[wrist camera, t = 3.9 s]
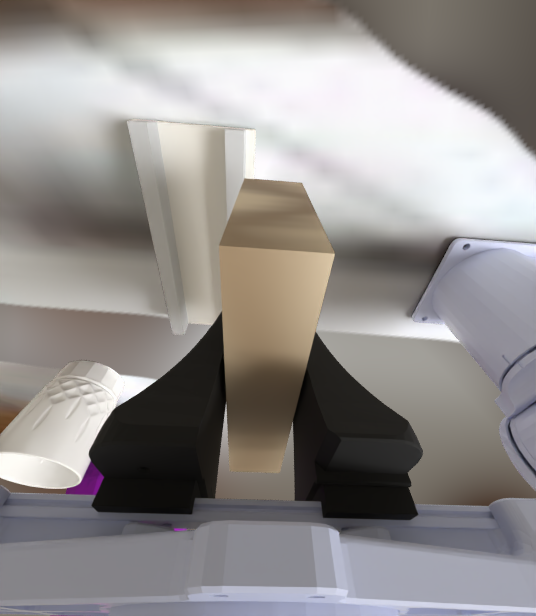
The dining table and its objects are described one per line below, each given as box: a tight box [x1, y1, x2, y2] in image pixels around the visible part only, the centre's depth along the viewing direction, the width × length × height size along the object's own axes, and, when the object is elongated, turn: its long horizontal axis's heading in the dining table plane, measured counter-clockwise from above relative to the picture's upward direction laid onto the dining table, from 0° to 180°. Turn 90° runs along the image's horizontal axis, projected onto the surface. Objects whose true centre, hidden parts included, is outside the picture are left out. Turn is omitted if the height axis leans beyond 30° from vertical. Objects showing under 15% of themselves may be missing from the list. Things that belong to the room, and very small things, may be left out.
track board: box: [127, 119, 256, 335], centre depth 19 cm, size 7×15×2 cm, turn 176°
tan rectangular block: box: [219, 178, 335, 473], centre depth 12 cm, size 2×12×7 cm, turn 176°
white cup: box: [0, 360, 124, 489], centre depth 26 cm, size 8×8×10 cm
